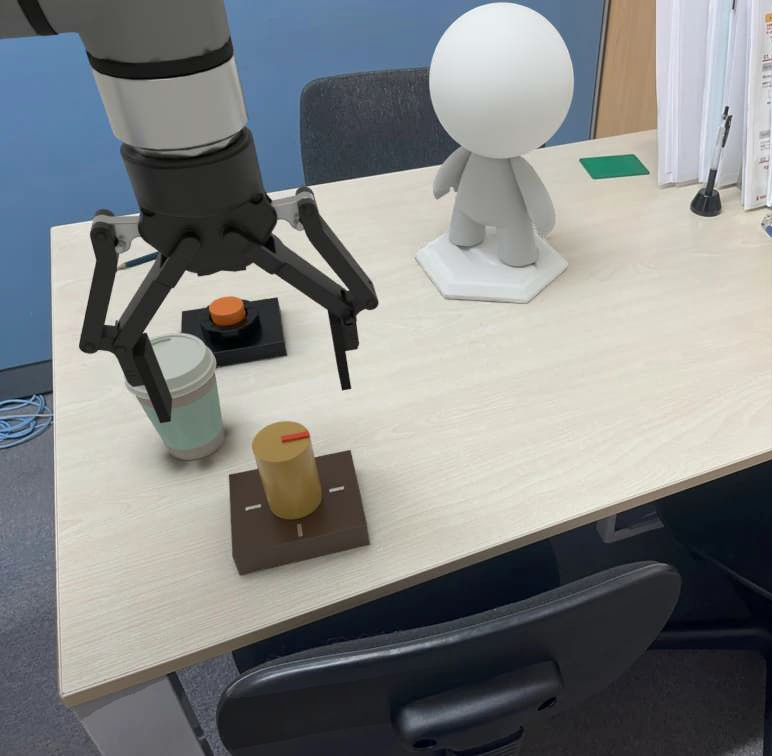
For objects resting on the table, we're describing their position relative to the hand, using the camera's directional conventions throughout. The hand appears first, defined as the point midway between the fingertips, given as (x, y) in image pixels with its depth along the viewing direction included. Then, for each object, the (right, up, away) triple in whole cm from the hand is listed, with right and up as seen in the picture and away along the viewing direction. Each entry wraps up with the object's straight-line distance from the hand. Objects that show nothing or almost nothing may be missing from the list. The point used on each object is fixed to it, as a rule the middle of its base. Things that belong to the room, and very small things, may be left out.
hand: (258, 394), depth 56 cm
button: (-15, +9, +32) cm, 36 cm away
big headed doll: (+18, +18, +50) cm, 56 cm away
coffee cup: (-14, -6, +21) cm, 26 cm away
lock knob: (0, -10, +12) cm, 16 cm away
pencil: (-31, +20, +50) cm, 61 cm away
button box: (-15, +6, +35) cm, 38 cm away
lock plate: (-1, -13, +14) cm, 19 cm away
